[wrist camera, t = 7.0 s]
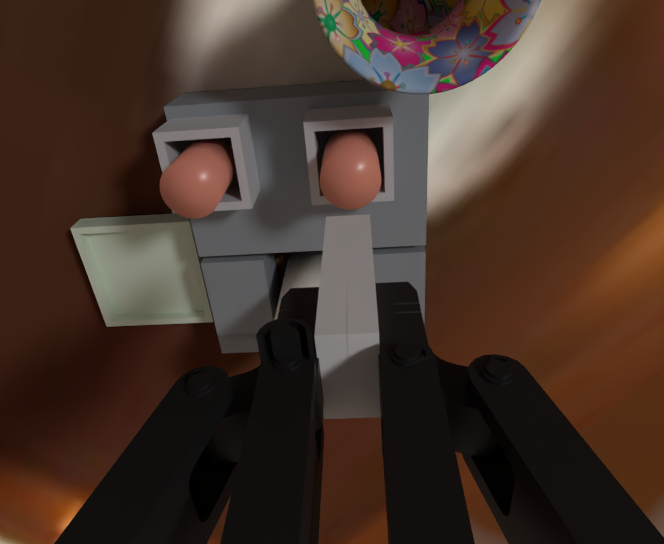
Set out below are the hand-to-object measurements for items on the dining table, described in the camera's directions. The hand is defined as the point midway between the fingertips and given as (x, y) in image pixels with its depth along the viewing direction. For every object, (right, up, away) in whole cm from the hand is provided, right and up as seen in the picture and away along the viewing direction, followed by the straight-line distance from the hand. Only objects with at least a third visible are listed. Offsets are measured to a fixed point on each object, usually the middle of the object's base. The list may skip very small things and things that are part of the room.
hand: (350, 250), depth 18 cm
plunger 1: (-8, +6, +11) cm, 15 cm away
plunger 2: (0, +6, +11) cm, 12 cm away
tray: (-14, 0, +21) cm, 26 cm away
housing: (-2, +3, +18) cm, 19 cm away
